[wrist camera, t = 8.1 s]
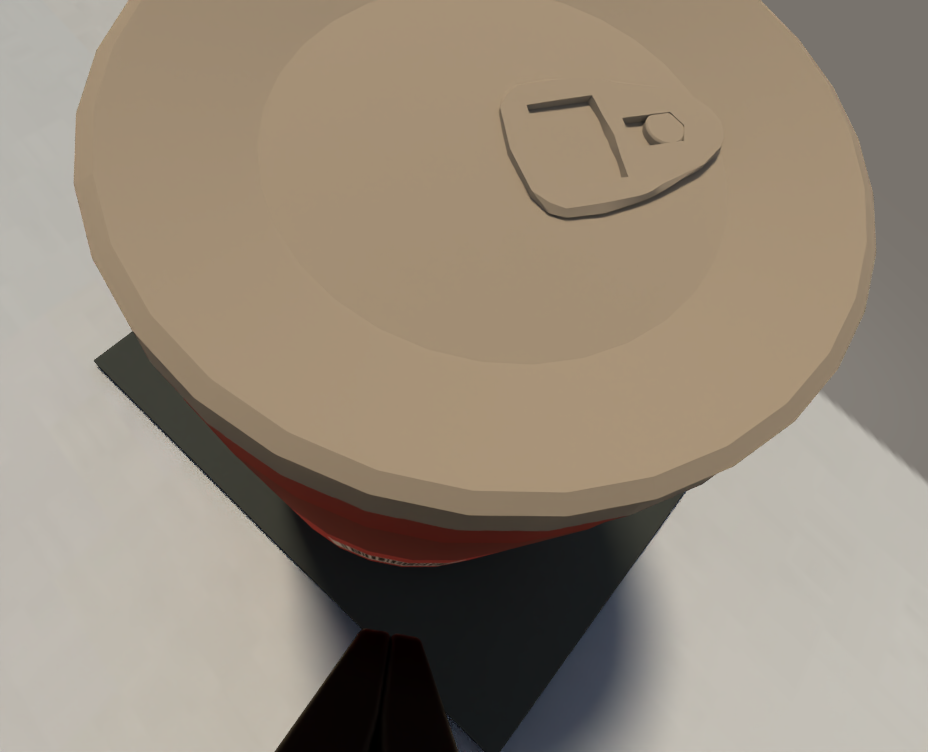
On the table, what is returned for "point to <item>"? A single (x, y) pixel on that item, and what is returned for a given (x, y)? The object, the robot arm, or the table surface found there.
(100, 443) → the table surface
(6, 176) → the table surface
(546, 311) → the canned food
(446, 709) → the mat
